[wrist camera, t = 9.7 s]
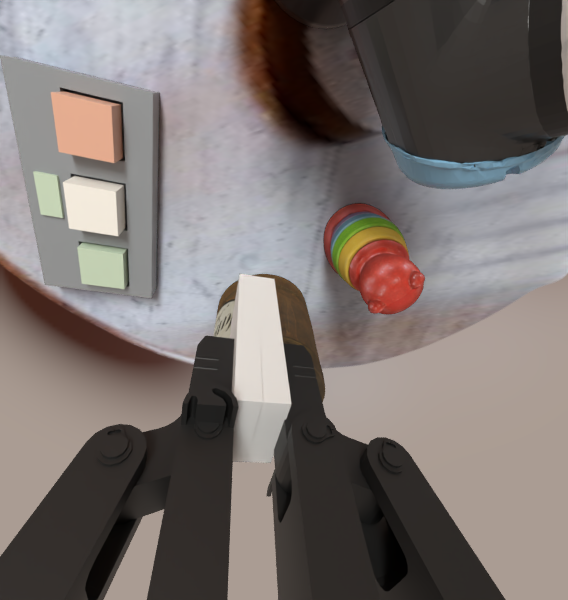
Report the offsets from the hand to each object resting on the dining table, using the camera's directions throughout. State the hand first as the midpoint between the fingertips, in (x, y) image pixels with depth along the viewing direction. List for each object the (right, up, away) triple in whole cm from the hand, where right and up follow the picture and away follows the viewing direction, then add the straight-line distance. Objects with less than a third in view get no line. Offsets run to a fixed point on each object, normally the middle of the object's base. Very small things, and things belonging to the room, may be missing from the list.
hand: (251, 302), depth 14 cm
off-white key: (-21, +12, +26) cm, 35 cm away
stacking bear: (+12, +10, +34) cm, 37 cm away
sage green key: (-23, +6, +31) cm, 39 cm away
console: (-22, +14, +27) cm, 38 cm away
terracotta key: (-19, +19, +21) cm, 34 cm away
